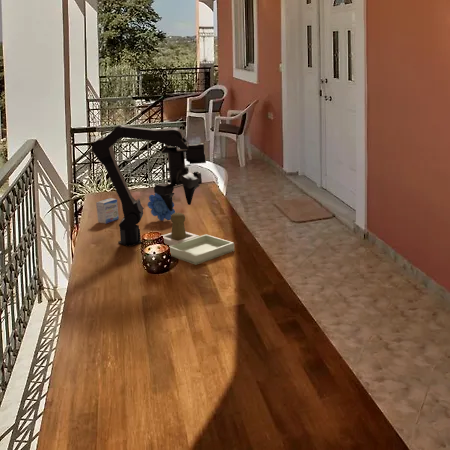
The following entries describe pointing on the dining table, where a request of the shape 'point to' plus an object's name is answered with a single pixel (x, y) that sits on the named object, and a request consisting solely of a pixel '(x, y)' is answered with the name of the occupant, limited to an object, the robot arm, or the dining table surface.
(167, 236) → the socket block
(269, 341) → the dining table surface
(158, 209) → the blue bumpy cluster
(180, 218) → the cork
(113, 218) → the medicine box
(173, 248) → the parts tray
